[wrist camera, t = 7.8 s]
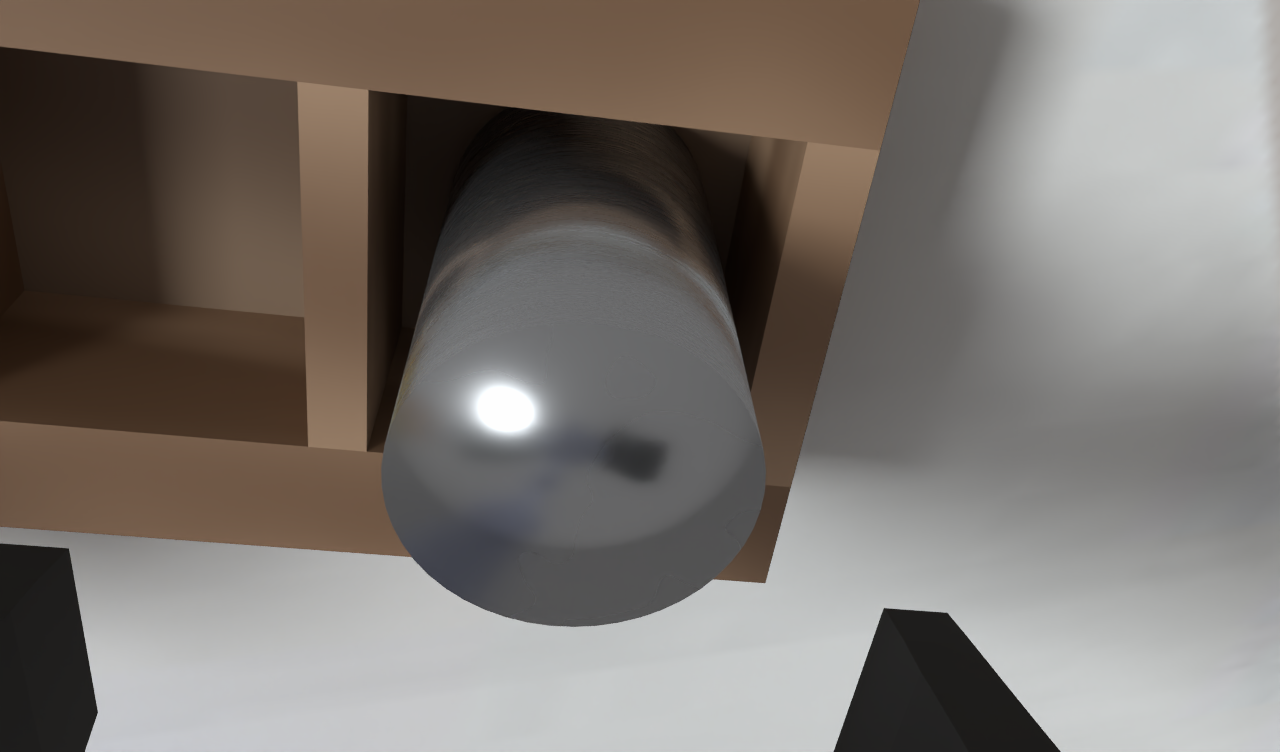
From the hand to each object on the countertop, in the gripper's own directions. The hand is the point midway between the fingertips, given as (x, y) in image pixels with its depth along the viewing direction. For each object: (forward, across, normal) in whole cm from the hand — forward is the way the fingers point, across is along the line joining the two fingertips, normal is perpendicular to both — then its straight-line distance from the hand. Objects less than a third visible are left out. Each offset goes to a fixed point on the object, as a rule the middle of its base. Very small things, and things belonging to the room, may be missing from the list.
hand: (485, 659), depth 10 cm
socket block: (+9, +2, -1) cm, 10 cm away
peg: (+9, -1, 0) cm, 9 cm away
